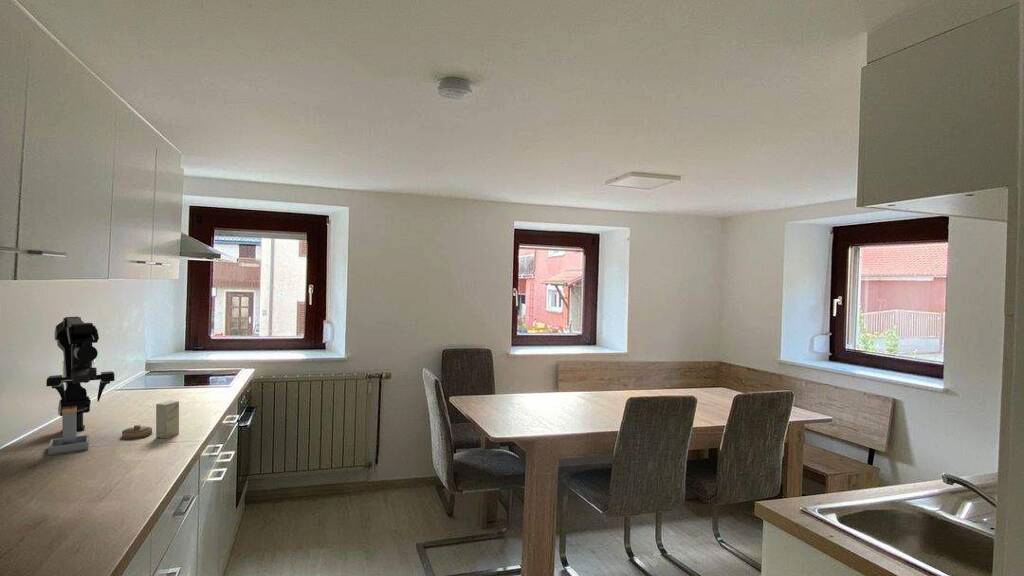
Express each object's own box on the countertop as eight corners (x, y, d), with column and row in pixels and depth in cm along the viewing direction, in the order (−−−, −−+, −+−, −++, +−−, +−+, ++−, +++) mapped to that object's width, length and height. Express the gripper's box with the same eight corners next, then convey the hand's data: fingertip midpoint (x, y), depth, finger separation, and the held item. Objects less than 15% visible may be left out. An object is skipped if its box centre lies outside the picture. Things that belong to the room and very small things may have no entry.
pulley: (121, 434, 202) (121, 424, 202) (151, 430, 208) (151, 421, 208) (122, 440, 195) (122, 430, 195) (152, 436, 200) (152, 426, 200)
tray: (51, 446, 187) (51, 439, 187) (89, 441, 193) (89, 434, 193) (48, 455, 179) (48, 447, 179) (88, 449, 185) (88, 442, 185)
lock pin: (62, 446, 186) (62, 407, 186) (76, 444, 188) (76, 405, 188) (61, 449, 183) (61, 409, 183) (76, 447, 185) (76, 408, 185)
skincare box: (165, 438, 198) (165, 404, 198) (155, 437, 199) (155, 404, 199) (179, 433, 204) (179, 400, 204) (169, 432, 205) (169, 400, 205)
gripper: (44, 364, 182) (45, 411, 183) (114, 359, 193) (114, 404, 194) (47, 359, 191) (48, 404, 192) (114, 355, 202) (114, 398, 203)
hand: (81, 402), depth 195 cm, fingers open, 9 cm apart
